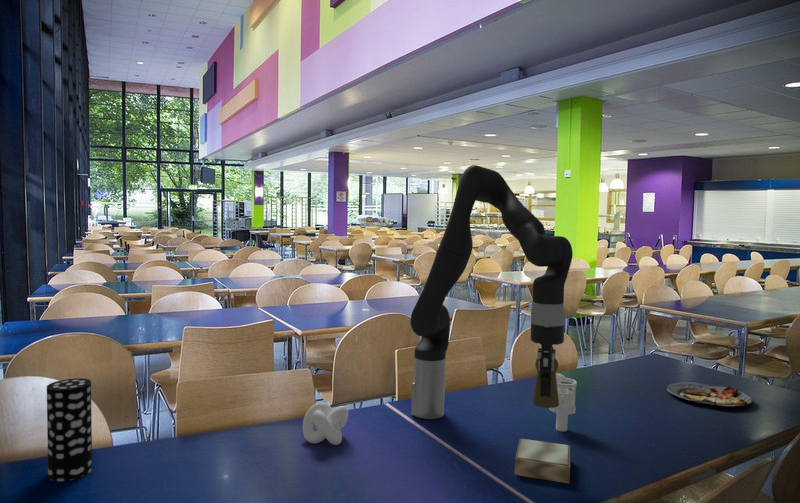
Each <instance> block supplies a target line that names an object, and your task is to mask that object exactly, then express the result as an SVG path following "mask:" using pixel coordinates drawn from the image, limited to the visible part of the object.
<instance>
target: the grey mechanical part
mask: <svg viewBox="0 0 800 503" xmlns="http://www.w3.org/2000/svg"><path fill="white" fill-rule="evenodd" d="M556 381H557V390H558V399H559V406H558V407H555V408H548V409H549V411H550V412H552V413H554V414H556V417H555V430H556V431H558V432H567V431H568V421H569V419H568V417H569V415H573V414H576V393H577V392H576V389H577V384H578V383H577V382H578V381H577V380H575V379H573V378H569V377H565V376H564V375H563V374H561V373H558V372H557V373H556ZM562 382H565V383H562ZM570 389H571V390H570Z"/></svg>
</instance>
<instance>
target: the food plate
mask: <svg viewBox="0 0 800 503" xmlns="http://www.w3.org/2000/svg"><path fill="white" fill-rule="evenodd" d="M666 391H667V392H669V393H670V394H672V395H674V396H676V397H678V398H679V399H682V400H683V399H685V400H686V401H687V400H688V401H689V402H696V403H698V404H706V405H710V406H714V405H715V406H719V407H721V406H722V407H730V408H735V407H747V406H750V405H751V404H752V403H753V402H754V398H753V397H752V396H750V395H749V394H747V393H745V392H743V391H740V390H739V389H738V388H733V387H732V386H727V387H725V386H721V385H716V384H710V383H702V382H701V383H700V382H696V381H695V382H690V381H687V382H674V383H670V384H668V385H667V387H666Z"/></svg>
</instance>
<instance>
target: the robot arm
mask: <svg viewBox="0 0 800 503" xmlns="http://www.w3.org/2000/svg"><path fill="white" fill-rule="evenodd" d="M476 202H480V203H487V204H489V205H491V206H493V207H494V208H495V209H496V210H498V211H499V212H500V214H501V219H502V223H503V225H504V226H505V228H506V229H507V230H508V232H509V233H510V234H511V235H512V236H513V237H514V238H515V239H516V240H517V241H518V243H519V245H520V247H521V249H522V252H523V254H524V256H525V258H526V259H527V261H528V262H529V263H530V264H532V265H533V266H535V267H542V268H545V267H546V270H545V273H544V274H543V275H541V276H538V277H535V278H534V279H533V283H532V304H531V310H530V340H531V342H532V343H535V344H539V345H540V346H541V348H540V347H538V350H537V358H539V362H538V370H539V371H540V377H539V379H540V381H541V389H540V396H541V397H543V396H548V398H550V388H551V381H552V378H551V373H552V372H553V371H554V359H556V353H557V352H556V351H557V350H556V349H555V348H554V345H555V346H556V345H557V346H558V345H562V344H563V343H564V341H565V316H566V315H565V314H566V313H565V306H564V305H565V304H564V303H565V302H564V300H565V285H566V281H567V277H568V276H569V275H568V274H569V272H570V268H571V264H572V261H573V254H574V253H573V246H572V244H571V243H570V240H568V238H566V237H564V236H561V235H551V236H550V235H545V232H546V230H545V226H544V224H543V222H541V221H540V220H539V218H537V216H535V215H534V213H532V212H531V211H530V210H529V209H528V208H527V207H526V206H525V205H524V204H523V203H522V202H521V201H520V200H519V198H518V197H517V196H516V195H515V193H514V192H513V190H512V189H511V188H510V186H509V185H508V183H507V181H506V180H505V179H504V177H503V176H502V174H500V173H499V172H498V171H497V170H494V169H491V168H487V167H483V166H480V165H476V164H472V165H470V166H467V168H466V169H465V170H464V171H463V173H462V175H461V177H460V179H459V183H458V185H457V189H456V194H455V198H454V201H453V206H452V209H451V212H450V216H449V219H448V221H447V224H446V226H445V231H444V233H443V235H442V238H441V239H440V240H441V241H440V243H439V245H438V247H437V250H436V254H435V256H434V258H433V263H432V266H431V268H430V270H429V274H428V276H427V279H426V281H425V284H424V287H423V289H422V291H421V293H420V296H419V298H418V299H417V302H416V304H415V305H414V307H413V310H412V312H411V316H410V321H409V322H410V327H411V329H412V331H413V332H414V334H416V335H417V336H419V337H421V338H420V341H419V342H418V344H417V345H416V346H415V348H414V356H413V357H414V362H413V366H414V367H413V369H414V370H413V382H412V383H411V397H410V398H411V402H410V403H411V408H410V414H411V416H414V417H416V418H418V419H419V418H420V419H424V420H437V419H438V420H439V419H441V418H443V417H444V415H445V395H446V393H445V390H446V354H447V351H448V348H449V344H450V343H449V342H450V331H451V318H450V312H449V310H448V308H447V307H446V306H445V305H444V302H445V299H446V297H447V296H448V294H449V293H450V291H451V290H452V288H453V287H454V286H455V284H456V283H457V282H458V281H459V279H460V278H461V276H462V275H464V274H463V273H464V272H465V270H466V268H467V265H468V263H469V260H470V258H471V254H472V252H473V247H474V246H473V244H474V243H473V236H472V230H471V215H472V211H473V208H474V205H475V203H476ZM551 358H552V360H551ZM551 362H552V366H551ZM538 370H537V371H538ZM543 373H548V374H549V376H543Z"/></svg>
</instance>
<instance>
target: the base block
mask: <svg viewBox="0 0 800 503" xmlns="http://www.w3.org/2000/svg"><path fill="white" fill-rule="evenodd" d="M514 458H515V459H514V475H515V476H520V477H527V478H533V479H539V480H545V481H552V482H558V483H565V484H570V480H571V479H570V478H571V446H570V445H568V444H562V443H557V442H555V443H554V442H548V441H541V440H533V439H527V438H519V440H518V444H517V449H516V452H515V457H514Z"/></svg>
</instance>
